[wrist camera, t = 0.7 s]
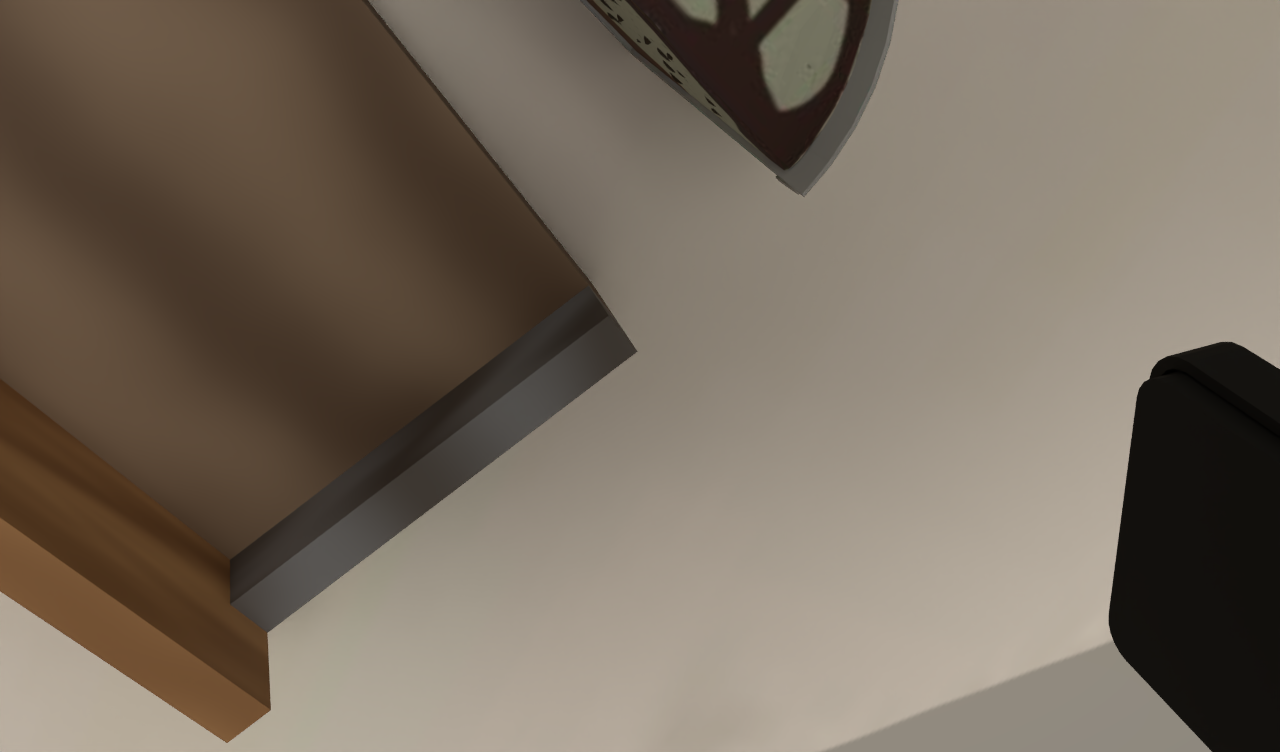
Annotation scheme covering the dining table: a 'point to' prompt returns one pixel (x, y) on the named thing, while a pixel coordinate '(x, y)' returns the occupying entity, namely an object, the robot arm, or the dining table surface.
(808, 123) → the food container
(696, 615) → the dining table surface
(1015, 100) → the dining table surface
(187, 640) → the tray
